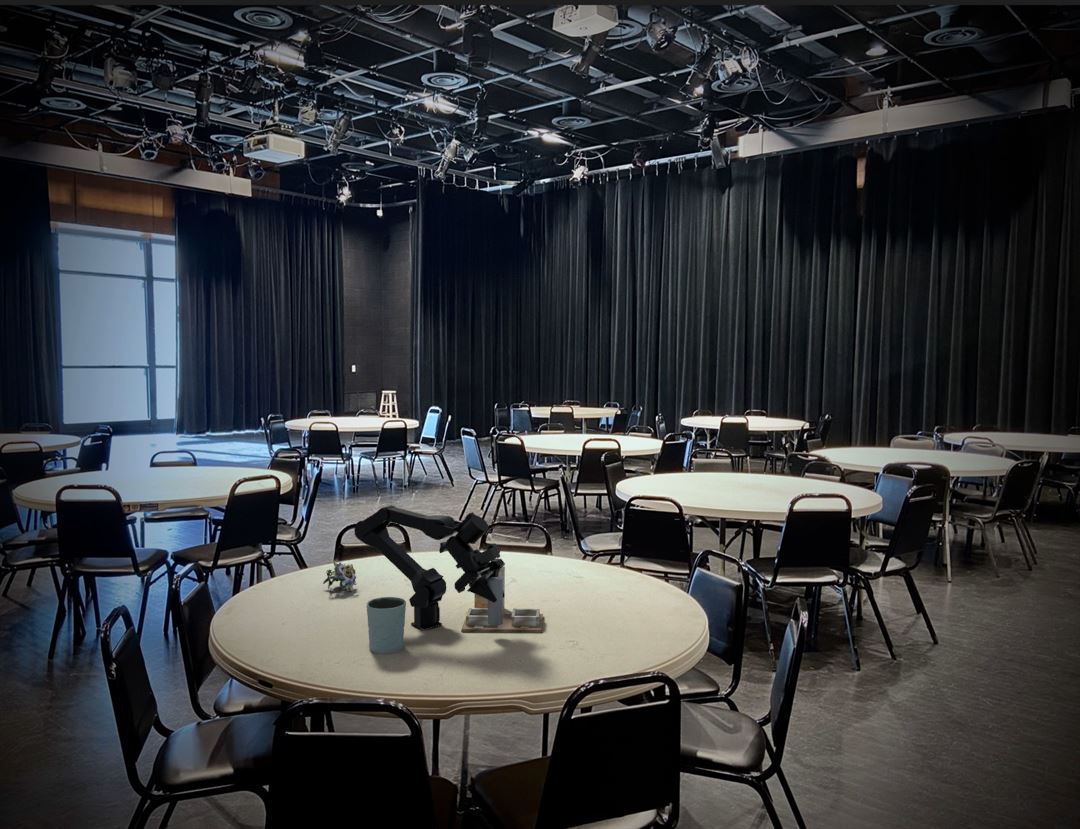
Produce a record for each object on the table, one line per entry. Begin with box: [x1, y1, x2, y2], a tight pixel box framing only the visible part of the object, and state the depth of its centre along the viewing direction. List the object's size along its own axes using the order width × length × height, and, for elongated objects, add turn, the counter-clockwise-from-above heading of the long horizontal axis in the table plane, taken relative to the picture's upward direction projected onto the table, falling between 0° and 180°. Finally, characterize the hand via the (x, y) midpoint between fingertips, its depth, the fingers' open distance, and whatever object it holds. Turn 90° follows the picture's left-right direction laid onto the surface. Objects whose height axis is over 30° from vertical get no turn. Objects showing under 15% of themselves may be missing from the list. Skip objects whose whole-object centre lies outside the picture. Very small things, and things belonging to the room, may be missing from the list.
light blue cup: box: [366, 596, 407, 655], centre depth 204 cm, size 10×10×12 cm
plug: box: [488, 577, 504, 625], centre depth 212 cm, size 4×4×12 cm
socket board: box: [461, 607, 544, 634], centre depth 223 cm, size 22×14×3 cm, turn 88°
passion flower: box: [323, 560, 357, 592], centre depth 258 cm, size 11×11×12 cm
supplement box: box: [473, 565, 506, 610], centre depth 237 cm, size 8×5×13 cm, turn 62°
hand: (499, 599), depth 211 cm, fingers closed on plug, 4 cm apart
